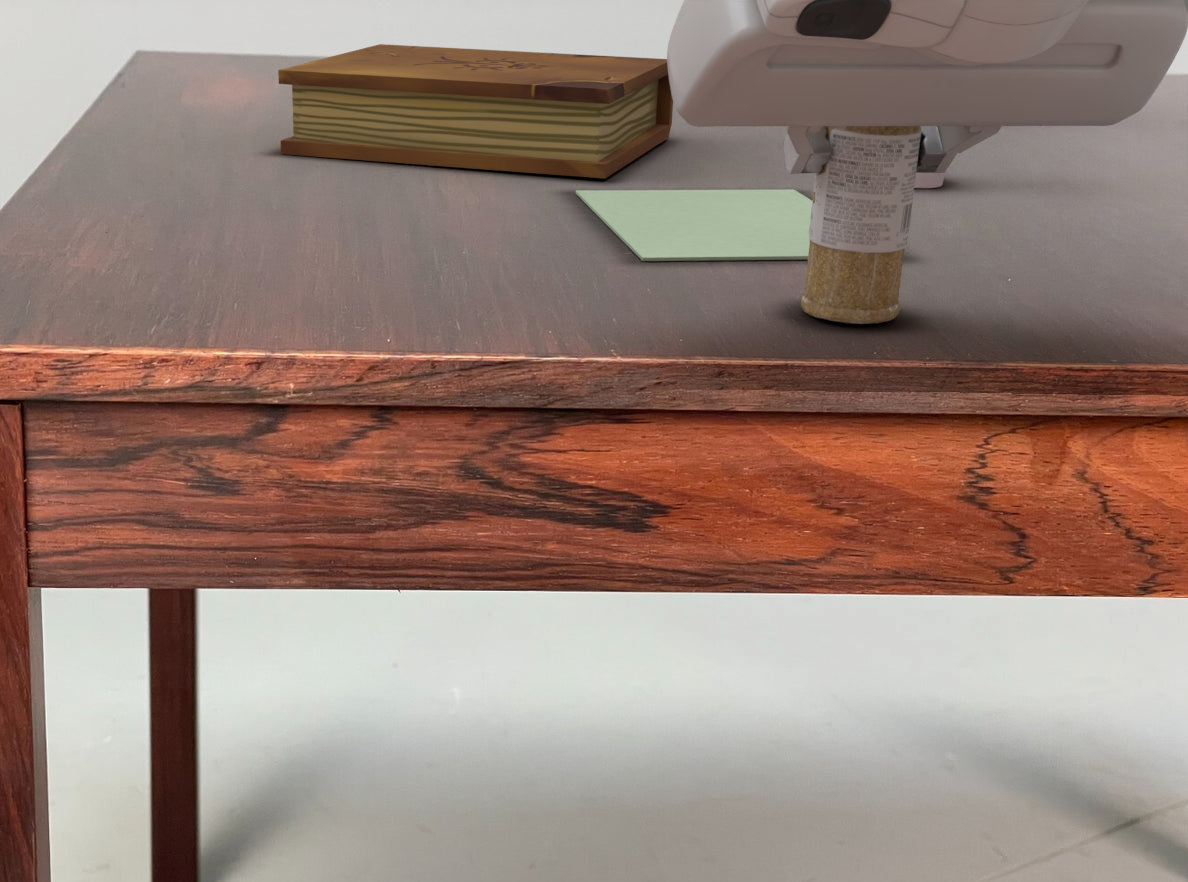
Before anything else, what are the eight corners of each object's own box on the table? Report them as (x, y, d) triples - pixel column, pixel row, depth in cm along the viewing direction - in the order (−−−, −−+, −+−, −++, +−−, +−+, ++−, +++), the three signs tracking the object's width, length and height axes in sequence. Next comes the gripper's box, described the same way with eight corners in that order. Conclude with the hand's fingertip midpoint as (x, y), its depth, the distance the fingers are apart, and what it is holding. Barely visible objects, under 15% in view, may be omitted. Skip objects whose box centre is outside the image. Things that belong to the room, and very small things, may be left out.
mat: (901, 258, 86) (901, 254, 86) (642, 261, 84) (642, 257, 84) (793, 192, 102) (794, 189, 102) (575, 193, 100) (575, 190, 100)
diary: (670, 138, 121) (676, 58, 118) (605, 181, 104) (610, 89, 102) (383, 116, 127) (383, 40, 125) (280, 153, 111) (278, 66, 109)
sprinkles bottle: (820, 297, 78) (852, 1, 72) (913, 311, 75) (953, 8, 70) (783, 317, 74) (814, 8, 69) (880, 333, 72) (919, 15, 67)
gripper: (1225, -123, 62) (1065, 102, 75) (708, -132, 60) (633, 102, 73) (1268, 10, 60) (1095, 218, 73) (732, 5, 57) (650, 223, 70)
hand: (861, 160), depth 73 cm, fingers closed on sprinkles bottle, 4 cm apart
